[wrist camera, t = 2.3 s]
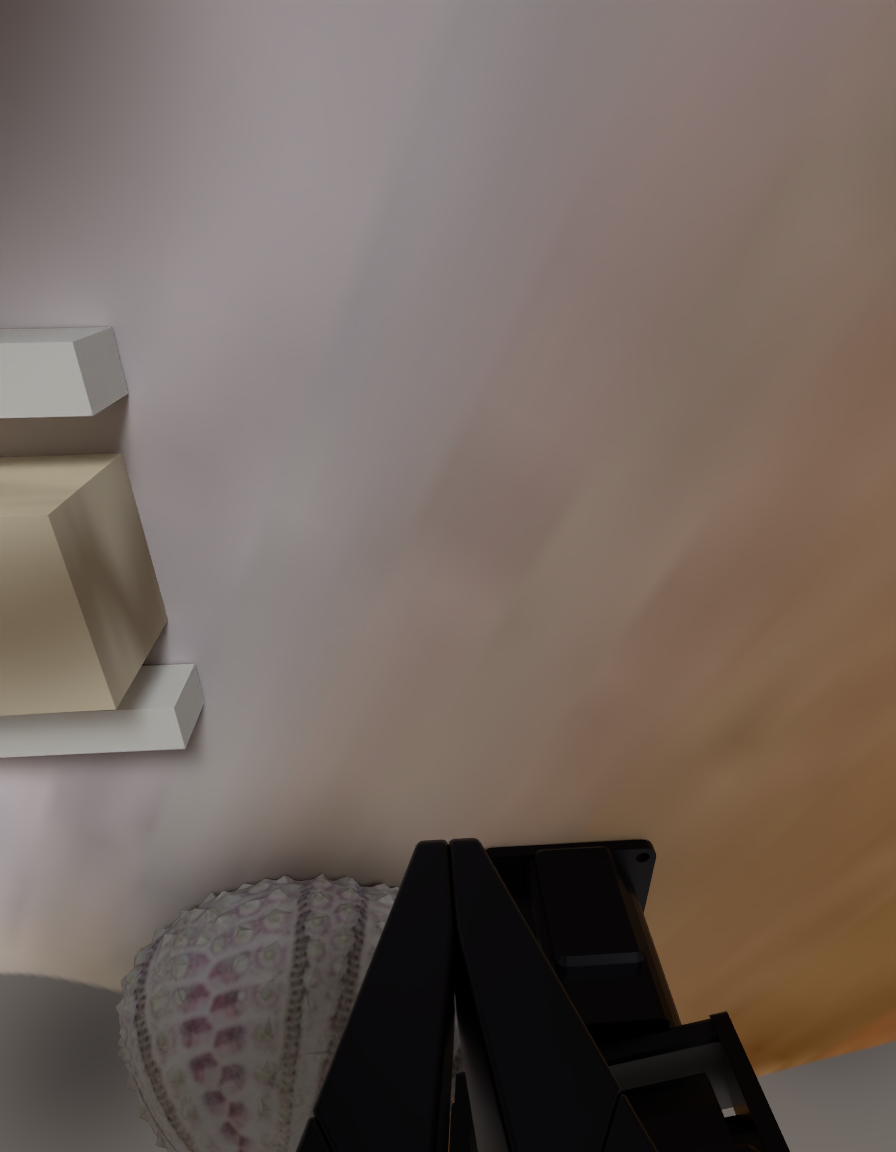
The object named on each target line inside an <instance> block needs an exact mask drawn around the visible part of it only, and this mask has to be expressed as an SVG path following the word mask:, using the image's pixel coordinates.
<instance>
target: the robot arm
mask: <svg viewBox="0 0 896 1152" xmlns="http://www.w3.org/2000/svg"><path fill="white" fill-rule="evenodd" d="M655 860H656V852H655V850H654V847H653V845H652V843H651V842H650V841H648V840H642V839H641V840H623V841H605V842H587V843H570V844H552V845H534V846H516V847H498V848H491V849H488V850H486V851H485V849H484V847H483V846H482V844H481V843H480V841H479V840H478V839H476V838H463V839H452V840H451V841H450V842H449V844H448V843H447V842H446V841H445V840H426V841H420V842H419V843H418V844H417V845H416V847H415V849H414V852H413V854H412V857H411V860H410V862H409V865H408V867H407V870H406V872H405V875H404V877H403V880H402V882H401V885H400V888H399V890H398V893H397V895H396V898H395V900H394V903H393V905H392V908H391V910H390V913H389V916H388V918H387V921H386V923H385V926H384V928H383V931H382V933H381V936H380V939H379V941H378V944H377V946H376V949H375V951H374V954H373V956H372V959H371V961H370V964H369V967H368V969H367V972H366V974H365V977H364V979H363V982H362V984H361V987H360V989H359V992H358V995H357V997H356V1000H355V1002H354V1005H353V1007H352V1010H351V1012H350V1015H349V1017H348V1020H347V1023H346V1025H345V1028H344V1030H343V1033H342V1035H341V1038H340V1040H339V1043H338V1045H337V1048H336V1051H335V1053H334V1056H333V1058H332V1061H331V1063H330V1066H329V1068H328V1071H327V1073H326V1076H325V1079H324V1081H323V1084H322V1086H321V1089H320V1091H319V1094H318V1096H317V1099H316V1101H315V1104H314V1107H313V1109H312V1113H313V1117H310V1118H309V1119H308V1121H307V1123H306V1126H305V1128H304V1131H303V1134H302V1136H301V1139H300V1141H299V1144H298V1146H297V1149H296V1151H295V1152H448V1143H449V1124H450V1105H451V1086H452V1068H453V1049H454V1024H455V1005H456V1016H457V1023H458V1031H459V1038H460V1044H461V1050H462V1056H463V1062H464V1069H465V1071H464V1072H459V1073H456V1079H455V1103H452V1106H451V1126H450V1148H449V1152H790V1151H789V1148H788V1146H787V1144H786V1142H785V1140H784V1137H783V1135H782V1133H781V1131H780V1129H779V1126H778V1124H777V1122H776V1120H775V1117H774V1115H773V1113H772V1111H771V1109H770V1106H769V1104H768V1102H767V1100H766V1097H765V1095H764V1093H763V1091H762V1089H761V1086H760V1084H759V1082H758V1079H757V1077H756V1075H755V1073H754V1071H753V1068H752V1066H751V1064H750V1062H749V1059H748V1057H747V1055H746V1053H745V1051H744V1048H743V1046H742V1044H741V1042H740V1039H739V1037H738V1035H737V1033H736V1031H735V1028H734V1026H733V1024H732V1022H731V1019H730V1017H729V1015H728V1013H727V1011H725V1012H721V1013H717V1014H712V1015H709V1016H710V1019H707V1020H702V1021H698V1022H694V1023H689V1024H685V1025H682V1024H681V1022H680V1019H679V1016H678V1013H677V1010H676V1007H675V1004H674V1001H673V998H672V995H671V992H670V989H669V987H668V984H667V981H666V978H665V975H664V972H663V969H662V966H661V963H660V960H659V957H658V955H657V952H656V949H655V946H654V943H653V940H652V937H651V934H650V931H649V928H648V925H647V923H646V920H645V917H644V909H645V905H646V900H647V896H648V891H649V887H650V882H651V878H652V873H653V869H654V864H655ZM731 1107H733V1108H734V1111H735V1114H736V1115H735V1116H730V1117H725V1118H724V1115H723V1113H722V1109H726V1108H731Z"/></svg>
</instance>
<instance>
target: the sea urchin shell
mask: <svg viewBox="0 0 896 1152" xmlns="http://www.w3.org/2000/svg"><path fill="white" fill-rule="evenodd" d="M398 890H399V888H398V887H395V888H389V887H388V886H387V885H386V884H385V883H383V884H380V885H376V886H373V887H360V886H359V884H358V883H357V882H356V881H355V880H354V879H353V878H352V877H351V878H349V877H348V876H346V877H344V878H341V879H338V880H335V881H333V880H330V879H328V878H327V877H326V876H325V875H324V874H323V873H322V874H320V875H319V876H317V877H316V878H315V879H311V880H305V881H296V880H293V879H291V878H290V877H288V876H283V877H282V878H280V879H278V880H270V879H263V880H261V881H260V882H258V883H256V884H255V885H250V884H242V885H241V886H240V887H239V888H238V889H237V890H236V891H233V892H227V891H222V892H221V893H220V895H219V896H216V895H215V894H213V893H210V894H209V896H208V897H207V898H206V899H205V900H204V901H203V902H202V903H201V904H200V905H199V906H198V908H194V909H193V910H190V911H186V910H181V913H180V916H179V918H178V919H177V920H176V921H175V922H174V923H173V924H172V925H171V926H170V927H169V928H165V929H158V930H155V934H154V937H153V941H152V944H150V945H148V946H145V947H143V948H141V949H139V950H138V952H137V955H135V963H134V969H133V970H132V971H131V972H130V973H129V974H128V975H127V976H125V977H124V978H123V979H122V980H121V985H122V993H123V999H122V1000H121V1002H120V1003H119V1004H118V1005H117V1007H116V1009H117V1011H118V1013H119V1016H120V1017H119V1023H120V1027H121V1030H120V1035H121V1036H122V1037H121V1039H120V1041H119V1042H118V1045H119V1046H120V1048H121V1049H120V1052H119V1053H118V1055H119V1056H120V1057H121V1058H122V1059H123V1060H124V1061H125V1062H126V1068H127V1069H128V1071H129V1078H128V1083H127V1088H128V1089H130V1090H132V1091H134V1092H135V1093H136V1095H137V1097H138V1099H139V1102H140V1118H142V1119H144V1120H146V1121H148V1122H149V1123H150V1125H151V1127H152V1129H153V1131H154V1133H155V1134H156V1136H157V1142H156V1146H159V1147H163V1148H166V1149H167V1151H168V1152H295V1151H296V1149H297V1146H298V1144H299V1141H300V1139H301V1136H302V1134H303V1131H304V1128H305V1126H306V1123H307V1121H308V1119H309V1118H310V1117H313V1113H312V1109H313V1107H314V1104H315V1101H316V1099H317V1096H318V1094H319V1091H320V1089H321V1086H322V1084H323V1081H324V1079H325V1076H326V1073H327V1071H328V1068H329V1066H330V1063H331V1061H332V1058H333V1056H334V1053H335V1051H336V1048H337V1045H338V1043H339V1040H340V1038H341V1035H342V1033H343V1030H344V1028H345V1025H346V1023H347V1020H348V1017H349V1015H350V1012H351V1010H352V1007H353V1005H354V1002H355V1000H356V997H357V995H358V992H359V989H360V987H361V984H362V982H363V979H364V977H365V974H366V972H367V969H368V967H369V964H370V961H371V959H372V956H373V954H374V951H375V949H376V946H377V944H378V941H379V939H380V936H381V933H382V931H383V928H384V926H385V923H386V921H387V918H388V916H389V913H390V910H391V908H392V905H393V903H394V900H395V898H396V895H397V893H398ZM464 1071H465V1069H464V1062H463V1056H462V1050H461V1044H460V1038H459V1031H458V1023H457V1016H456V1005H455V1024H454V1049H453V1068H452V1086H451V1102H452V1101H453V1099H454V1097H455V1079H456V1073H459V1072H464ZM450 1117H451V1105H450Z"/></svg>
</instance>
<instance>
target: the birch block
mask: <svg viewBox="0 0 896 1152" xmlns="http://www.w3.org/2000/svg"><path fill="white" fill-rule="evenodd" d="M167 621H168V618H167V615H166V611H165V607H164V604H163V600H162V596H161V593H160V589H159V585H158V582H157V578H156V575H155V571H154V567H153V564H152V560H151V556H150V553H149V549H148V546H147V542H146V538H145V535H144V531H143V527H142V524H141V520H140V516H139V513H138V509H137V506H136V502H135V498H134V495H133V491H132V487H131V484H130V480H129V476H128V473H127V469H126V466H125V462H124V458H123V455H122V453H107V454H81V455H54V456H28V457H1V458H0V716H6V715H24V714H42V713H61V712H79V711H97V710H116V709H117V707H118V705H119V704H120V702H121V700H122V698H123V697H124V695H125V693H126V692H127V690H128V688H129V687H130V685H131V683H132V681H133V680H134V678H135V676H136V675H137V673H138V671H139V669H140V668H141V666H142V664H143V663H144V661H145V659H146V657H147V656H148V654H149V652H150V651H151V649H152V647H153V645H154V644H155V642H156V640H157V639H158V637H159V635H160V633H161V632H162V630H163V628H164V627H165V625H166V623H167Z"/></svg>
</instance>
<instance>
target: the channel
mask: <svg viewBox="0 0 896 1152" xmlns="http://www.w3.org/2000/svg"><path fill="white" fill-rule="evenodd" d="M127 394H128V391H127V387H126V383H125V378H124V374H123V370H122V366H121V362H120V358H119V354H118V350H117V346H116V342H115V338H114V334H113V330H112V327H96V328H39V329H0V418H30V417H72V416H94V415H95V414H97V413H99V412H100V411H102V410H103V409H105V408H106V407H108V406H110V405H111V404H113V403H114V402H116V401H117V400H119V399H121V398H122V397H124V396H125V395H127ZM203 705H204V699H203V695H202V691H201V687H200V683H199V679H198V675H197V671H196V667H195V664H175V665H151V666H141V668H140V669H139V671H138V673H137V675H136V676H135V678H134V680H133V681H132V683H131V685H130V687H129V688H128V690H127V692H126V693H125V695H124V697H123V698H122V700H121V702H120V704H119V705H118V707H117V709H116V710H97V711H79V712H61V713H42V714H24V715H6V716H0V758H4V757H25V756H46V755H67V754H88V753H108V752H129V751H150V750H171V749H185V748H186V746H187V743H188V741H189V739H190V736H191V734H192V731H193V729H194V727H195V724H196V722H197V719H198V717H199V715H200V712H201V710H202V707H203Z"/></svg>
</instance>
